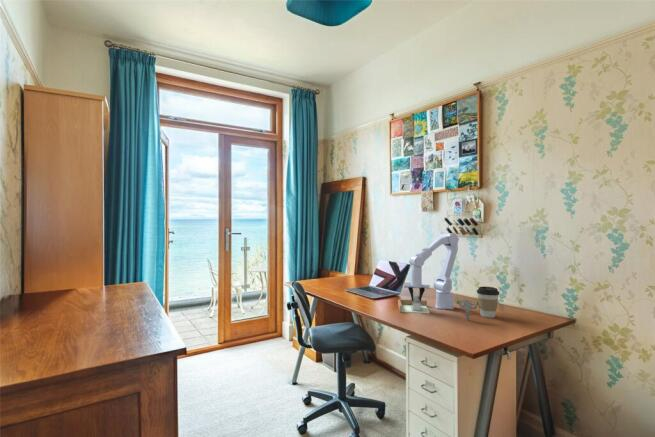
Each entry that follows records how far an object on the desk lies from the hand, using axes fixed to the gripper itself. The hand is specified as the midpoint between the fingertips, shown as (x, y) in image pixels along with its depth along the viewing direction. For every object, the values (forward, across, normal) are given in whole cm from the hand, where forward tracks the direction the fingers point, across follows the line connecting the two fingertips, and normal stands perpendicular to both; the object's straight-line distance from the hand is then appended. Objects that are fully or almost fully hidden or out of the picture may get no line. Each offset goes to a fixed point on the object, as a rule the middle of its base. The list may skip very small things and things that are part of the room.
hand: (416, 300), depth 196 cm
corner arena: (+5, +1, -1) cm, 5 cm away
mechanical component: (+5, -24, +16) cm, 29 cm away
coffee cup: (+5, -37, +6) cm, 38 cm away
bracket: (+4, 0, -2) cm, 5 cm away
